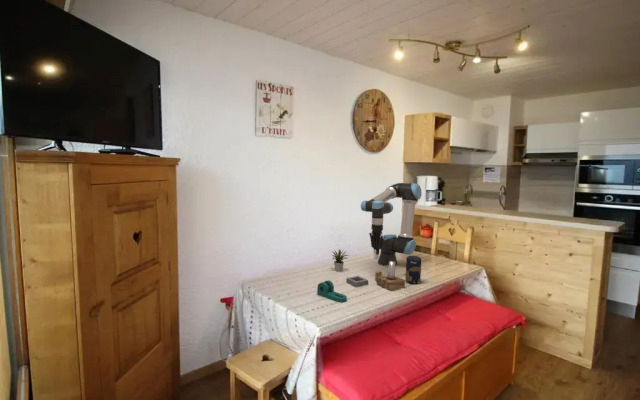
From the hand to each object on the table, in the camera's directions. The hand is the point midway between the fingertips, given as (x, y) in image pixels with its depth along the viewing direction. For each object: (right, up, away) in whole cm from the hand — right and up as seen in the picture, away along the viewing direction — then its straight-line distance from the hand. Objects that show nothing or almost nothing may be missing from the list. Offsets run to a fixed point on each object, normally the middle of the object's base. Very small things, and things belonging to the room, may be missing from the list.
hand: (376, 258), depth 220 cm
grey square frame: (-14, -14, -9) cm, 22 cm away
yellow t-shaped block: (+3, -14, -6) cm, 16 cm away
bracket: (-30, -16, -33) cm, 48 cm away
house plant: (-25, -12, +17) cm, 32 cm away
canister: (+24, -15, -3) cm, 28 cm away
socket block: (+7, -15, -12) cm, 21 cm away
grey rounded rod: (+7, -15, -12) cm, 21 cm away
